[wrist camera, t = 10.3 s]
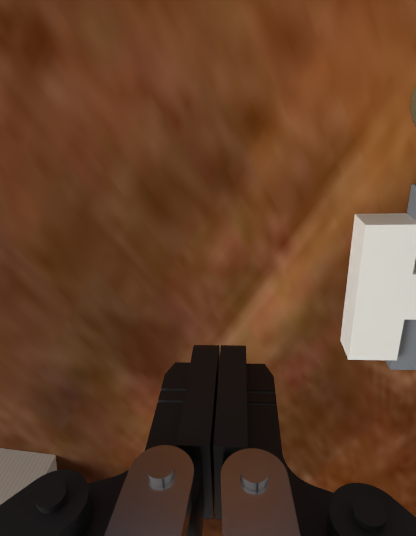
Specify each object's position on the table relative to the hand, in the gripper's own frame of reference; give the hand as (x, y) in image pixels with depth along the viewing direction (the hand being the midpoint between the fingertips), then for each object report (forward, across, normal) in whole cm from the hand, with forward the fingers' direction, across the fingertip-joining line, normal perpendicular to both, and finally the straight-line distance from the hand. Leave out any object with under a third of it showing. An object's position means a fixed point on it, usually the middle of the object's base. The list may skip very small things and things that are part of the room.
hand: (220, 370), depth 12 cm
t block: (+22, -16, +8) cm, 29 cm away
